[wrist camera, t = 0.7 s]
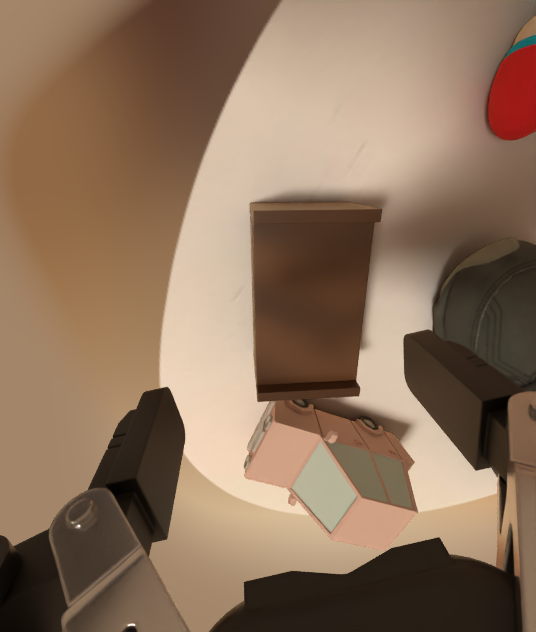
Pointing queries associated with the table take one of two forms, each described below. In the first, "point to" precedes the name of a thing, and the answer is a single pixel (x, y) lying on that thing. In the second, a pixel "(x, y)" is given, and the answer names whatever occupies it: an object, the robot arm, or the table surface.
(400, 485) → the toy car
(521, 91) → the toy figure
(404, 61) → the table surface
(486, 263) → the running shoe
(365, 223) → the brown wooden cabinet
